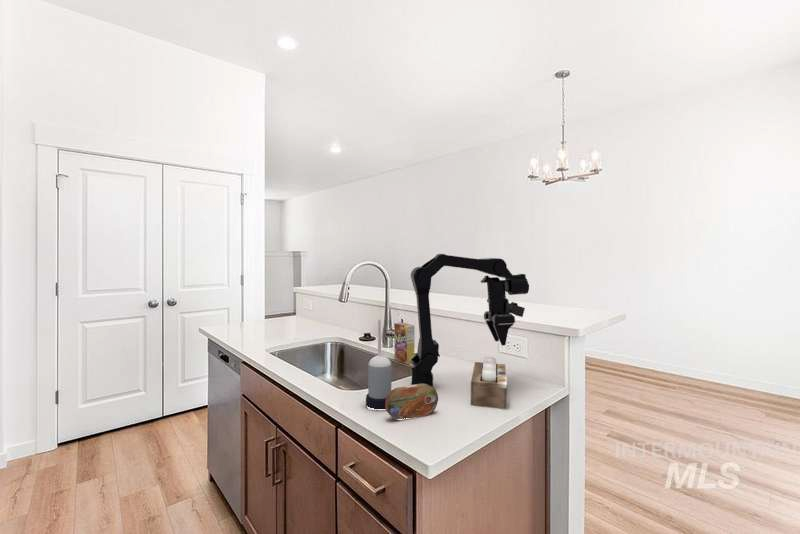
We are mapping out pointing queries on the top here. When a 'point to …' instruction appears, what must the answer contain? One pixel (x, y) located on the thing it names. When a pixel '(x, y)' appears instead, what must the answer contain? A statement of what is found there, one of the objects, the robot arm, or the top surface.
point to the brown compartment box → (489, 388)
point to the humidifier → (378, 378)
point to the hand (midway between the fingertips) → (500, 343)
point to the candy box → (404, 342)
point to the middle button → (489, 366)
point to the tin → (411, 401)
